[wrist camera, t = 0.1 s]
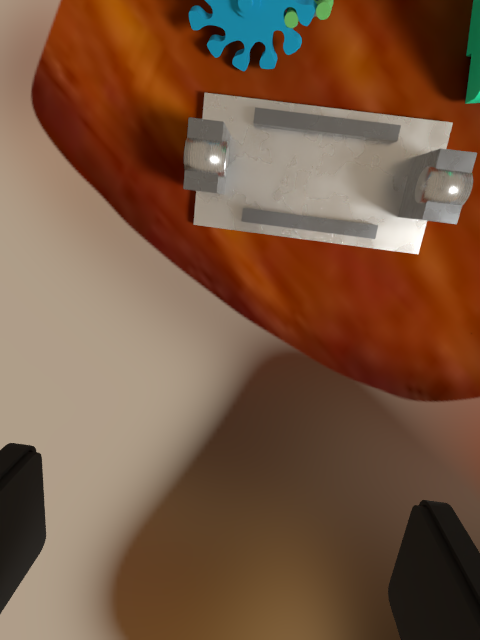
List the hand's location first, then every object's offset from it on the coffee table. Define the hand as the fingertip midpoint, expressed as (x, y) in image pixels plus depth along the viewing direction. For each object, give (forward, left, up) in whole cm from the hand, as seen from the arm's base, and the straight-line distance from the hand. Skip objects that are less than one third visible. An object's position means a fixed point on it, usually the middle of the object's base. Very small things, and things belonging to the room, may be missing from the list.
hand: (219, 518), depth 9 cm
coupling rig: (-10, +4, -30) cm, 32 cm away
